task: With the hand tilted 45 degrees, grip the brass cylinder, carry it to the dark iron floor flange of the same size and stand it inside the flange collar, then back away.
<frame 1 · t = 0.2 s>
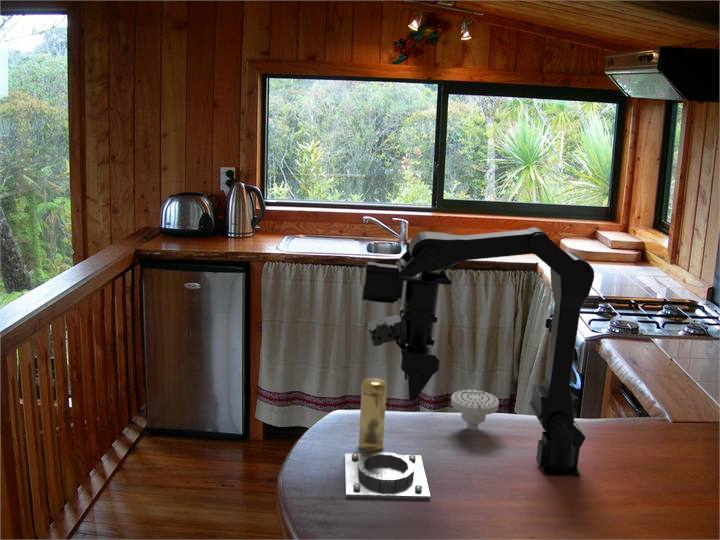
hand: (409, 389, 136), 14 cm above the worktop, tool pointing down, fingers open, 9 cm apart
floor flange: (385, 476, 134), on the worktop
showerhead: (472, 429, 154), on the worktop
brass cylinder: (370, 446, 144), on the worktop
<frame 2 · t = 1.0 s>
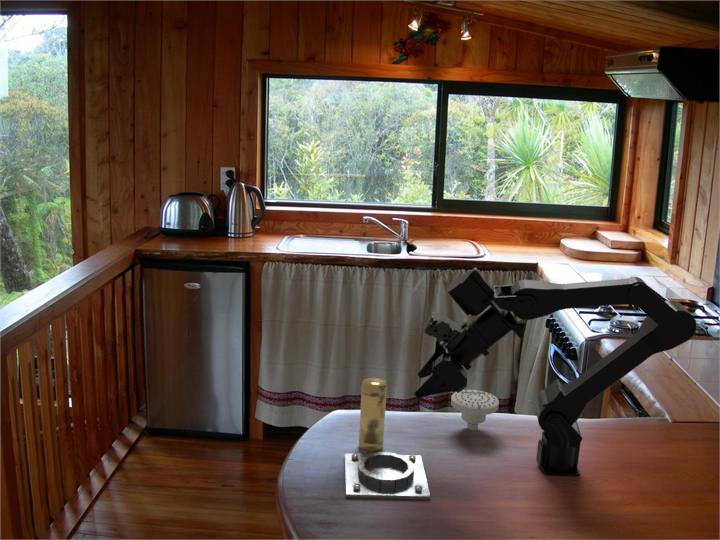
hand: (417, 385, 140), 13 cm above the worktop, tool tilted 45°, fingers open, 9 cm apart
nothing on the worktop moved.
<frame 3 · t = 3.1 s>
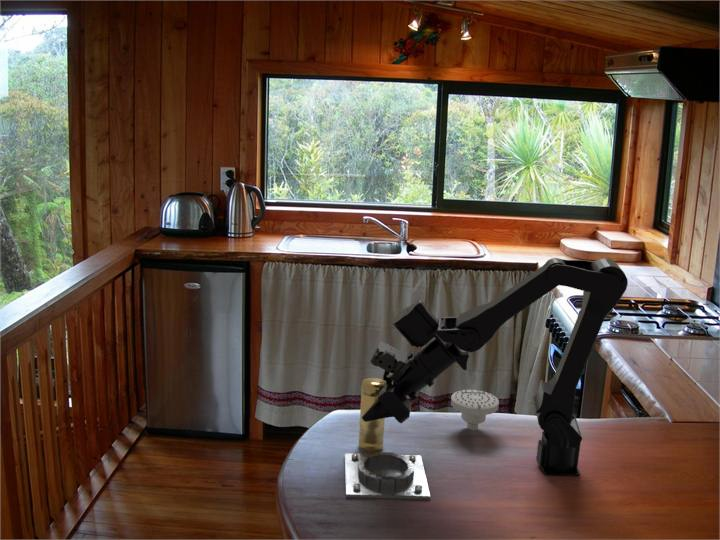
hand: (365, 413, 143), 7 cm above the worktop, tool tilted 45°, fingers closed on brass cylinder, 5 cm apart
brass cylinder: (370, 446, 144), on the worktop, touching gripper
everything else where it was.
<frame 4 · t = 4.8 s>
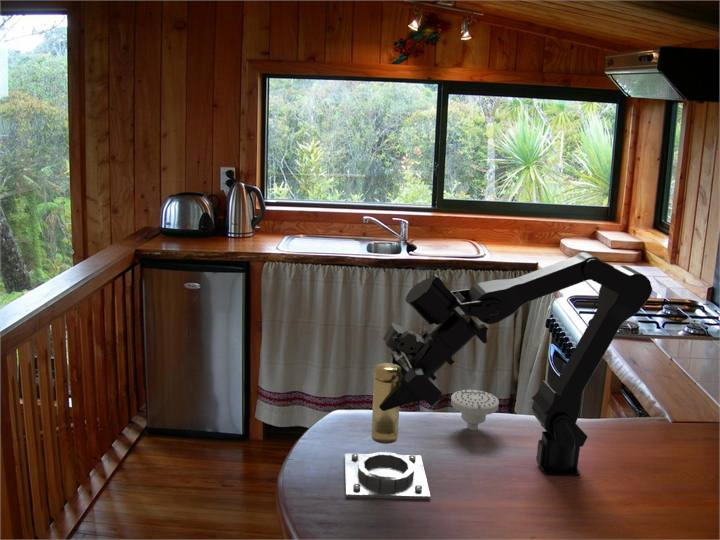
hand: (378, 402, 132), 13 cm above the worktop, tool tilted 45°, fingers closed on brass cylinder, 5 cm apart
brass cylinder: (384, 437, 134), point 7 cm above the worktop, touching gripper
everything else where it was.
when the fingers open (8 cm above the worktop, at t = 6.6 s): brass cylinder stays where it is, resting on floor flange.
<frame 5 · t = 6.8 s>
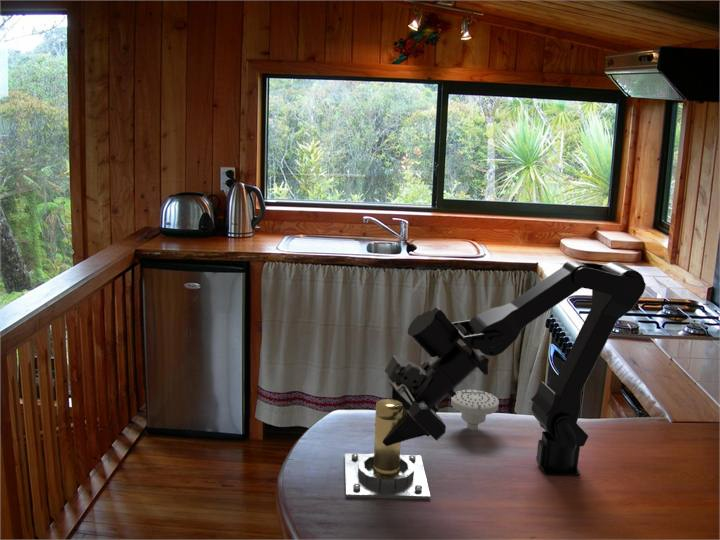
hand: (380, 435, 132), 8 cm above the worktop, tool tilted 45°, fingers open, 6 cm apart
brass cylinder: (386, 473, 134), point 1 cm above the worktop, touching floor flange
everything else where it was.
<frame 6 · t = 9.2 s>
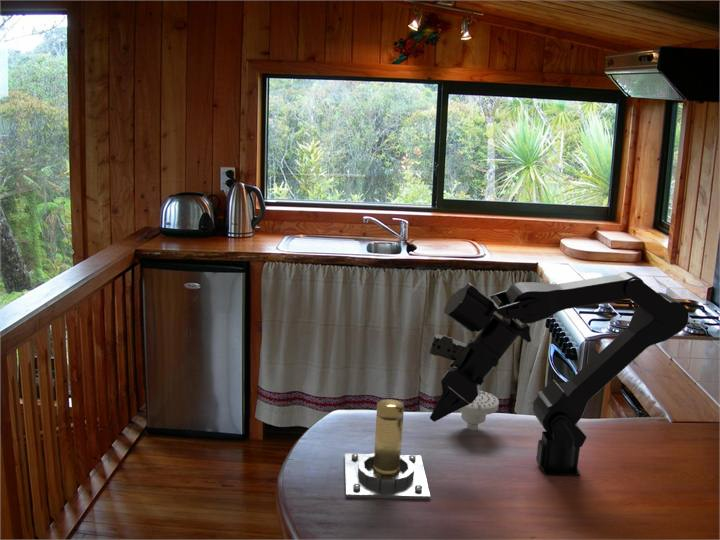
hand: (434, 414, 135), 10 cm above the worktop, tool tilted 35°, fingers open, 9 cm apart
nothing on the worktop moved.
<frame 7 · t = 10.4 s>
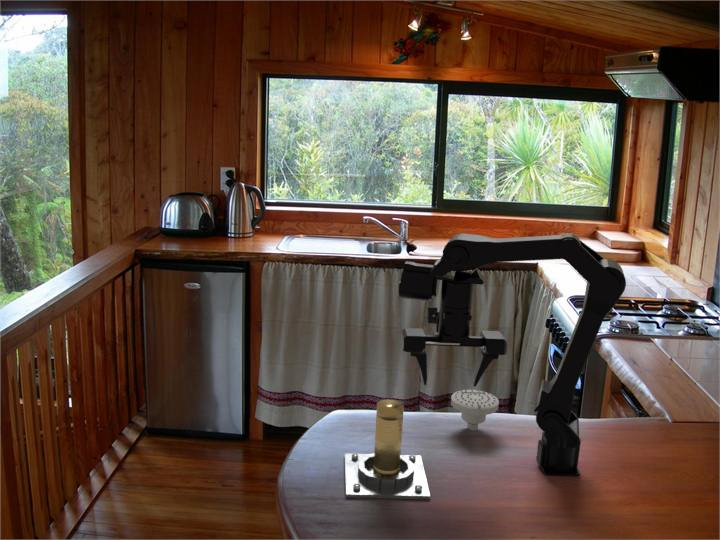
hand: (449, 384, 142), 13 cm above the worktop, tool pointing down, fingers open, 9 cm apart
nothing on the worktop moved.
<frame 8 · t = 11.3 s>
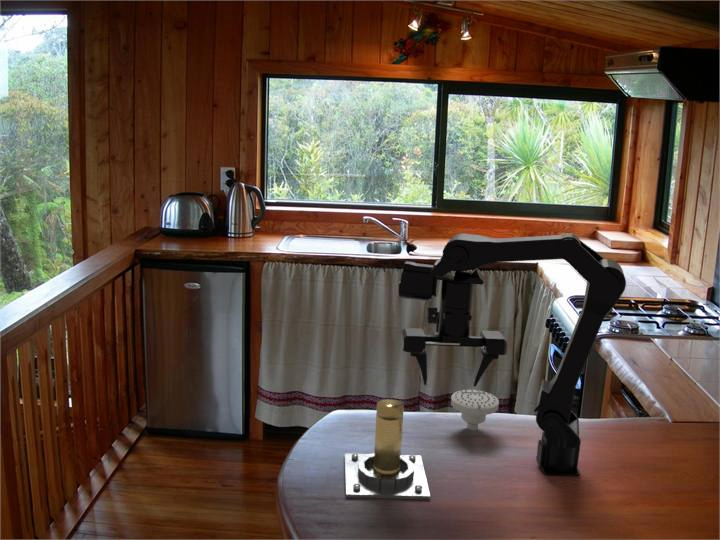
hand: (449, 384, 142), 13 cm above the worktop, tool pointing down, fingers open, 9 cm apart
nothing on the worktop moved.
at the end: brass cylinder 0.1 cm off-centre on the floor flange, point 0.6 cm above the floor flange's base; brass cylinder tilted 0°; the gripper is holding nothing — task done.
